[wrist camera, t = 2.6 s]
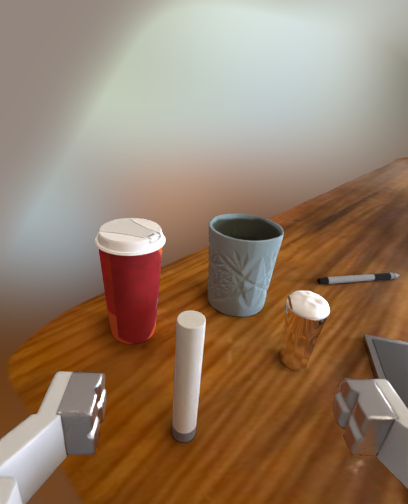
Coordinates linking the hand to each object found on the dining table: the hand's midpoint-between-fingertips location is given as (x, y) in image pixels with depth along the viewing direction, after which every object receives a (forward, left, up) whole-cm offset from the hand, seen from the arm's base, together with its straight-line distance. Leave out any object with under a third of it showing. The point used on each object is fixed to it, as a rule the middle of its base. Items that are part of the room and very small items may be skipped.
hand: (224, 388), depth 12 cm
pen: (+47, -18, -20) cm, 54 cm away
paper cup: (+24, +14, -20) cm, 34 cm away
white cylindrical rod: (+12, +4, -20) cm, 23 cm away
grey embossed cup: (+35, +2, -20) cm, 40 cm away
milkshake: (+24, -6, -20) cm, 31 cm away
